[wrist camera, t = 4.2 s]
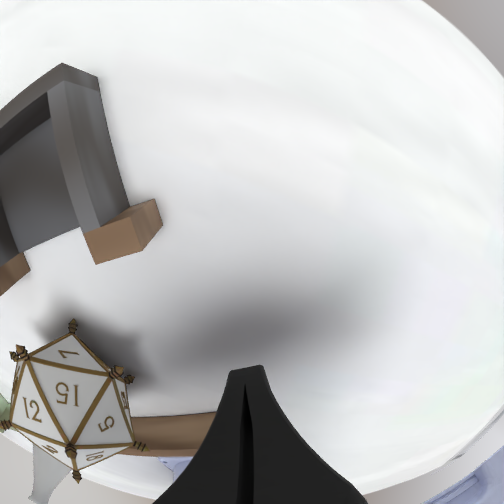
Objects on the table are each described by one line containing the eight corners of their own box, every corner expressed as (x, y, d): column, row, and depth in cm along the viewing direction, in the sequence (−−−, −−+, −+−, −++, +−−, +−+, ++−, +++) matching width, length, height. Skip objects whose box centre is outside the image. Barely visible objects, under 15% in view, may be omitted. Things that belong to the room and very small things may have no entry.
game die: (126, 343, 18) (133, 469, 13) (22, 320, 13) (21, 453, 8) (162, 310, 12) (177, 513, 7) (-6, 269, 7) (-9, 492, 2)
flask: (39, 452, 22) (25, 497, 13) (27, 434, 20) (7, 485, 10) (78, 471, 23) (67, 519, 14) (69, 457, 21) (54, 512, 12)
